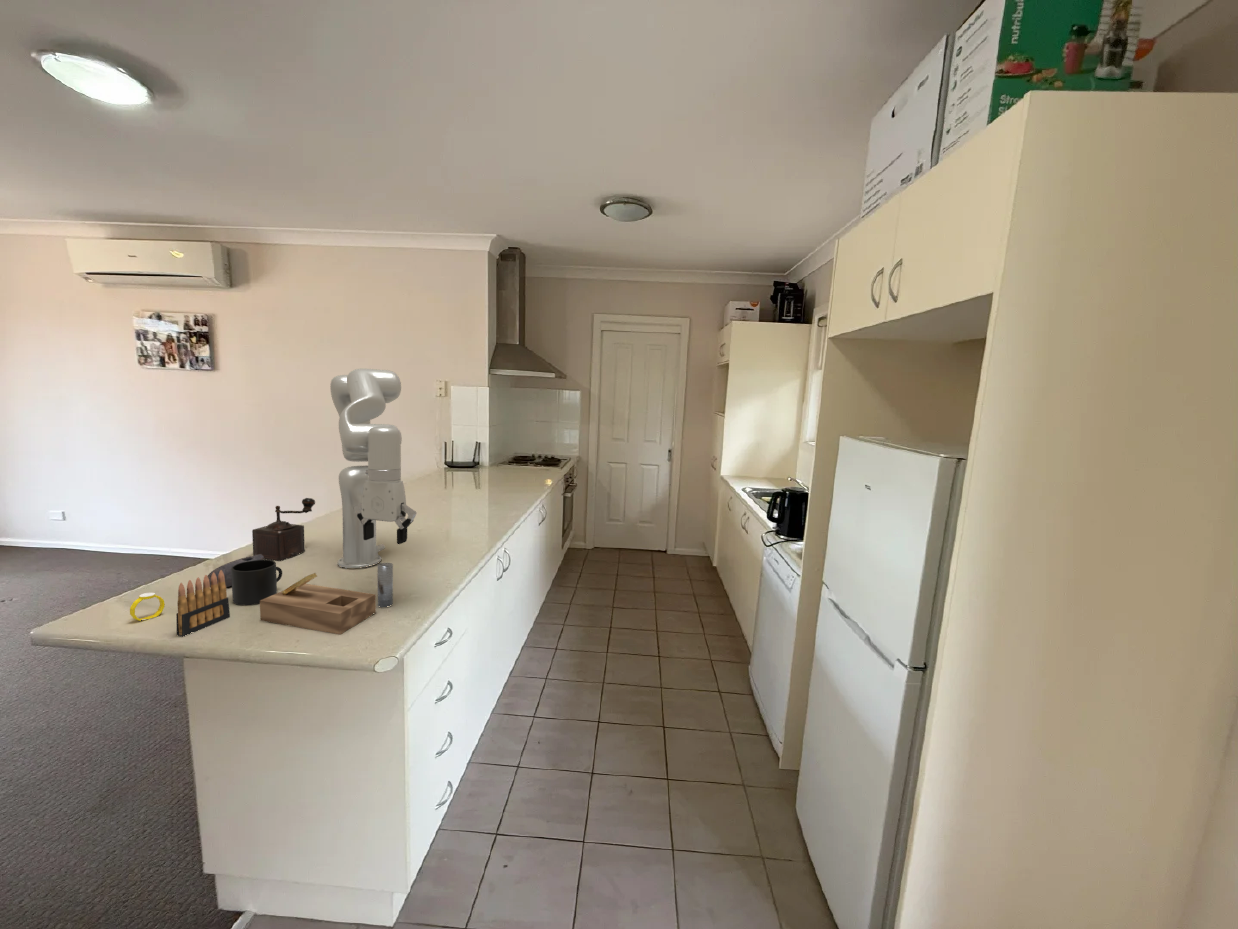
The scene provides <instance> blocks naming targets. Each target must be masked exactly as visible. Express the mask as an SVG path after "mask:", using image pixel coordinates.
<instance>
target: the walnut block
mask: <svg viewBox="0 0 1238 929" xmlns="http://www.w3.org/2000/svg"><path fill="white" fill-rule="evenodd" d="M282 591H283V590H282ZM282 591H280V592H279V591H278V592H277V594H274V595H272V596H269V597H267V598H265V599H262V600H260V603H259V616H260V621H262V622H267V623H273V624H279V625H284V626H290V627H296V628H302V629H307V630H313V631H319V632H325V633H330V634H336V635H342V634H343V633H346V631H349V630H351V629H352V628H354V627H355V626H356V625H359V624H360V623H362V622H364V621H365V620H366V619H368V617H369V616H370V617H372V616H373V615H372V614H373V613H375V614H376V612H377V611H376V610H377V607H376V606H377V605H376V603H377V602H376V601H377V600H376V599H377V596H376V593H369V592H362V591H355V590H350V589H343V588H335V587H330V586H323V585H317V584H309V583H306V584H304V585H303V586H301V587H299V588H298V589H296V590H294V591H292V592H290V593H287V594H285V595H283V594H282ZM371 615H372V616H371ZM370 617H369V618H370ZM364 619H365V620H364ZM363 620H364V621H363Z"/></svg>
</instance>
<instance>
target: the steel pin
mask: <svg viewBox="0 0 1238 929" xmlns="http://www.w3.org/2000/svg"><path fill="white" fill-rule="evenodd" d="M393 567H394V564H393V563H392V562H380V563H379V564H377V607H378V606H380V607H387V606H390V605H392V604H394V591H393V590H394V587H393V586H394V580H393V576H394V575H393V574H394V568H393ZM392 606H393V605H392ZM380 607H379V608H380ZM390 607H391V606H390ZM387 608H388V607H387Z"/></svg>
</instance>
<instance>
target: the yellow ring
mask: <svg viewBox="0 0 1238 929" xmlns="http://www.w3.org/2000/svg"><path fill="white" fill-rule="evenodd" d="M154 598H156V599H157V600H159V606H158V609H157V610H156V611H155V612H154V613H153V614H151V615H147V616H145V617H141V618H140V617H137V615H136V608H137V607H138V604H139V603H141V602H142V601H144V600H150V599H154ZM165 605H166V604H165V600H164V598H162V597H161V596H159V595H157V594H156V593H155V592H145V593H141V594H140V595H138V598H137V599H134V601H133V602H132V604H131V606H129V607H130V608H129V615H130V616H131V618H132V619H133V620H135V621H139V622H142V621H141V620H142V619H148V620H150V618H151V619H154V617H155V618H157V616H158V617H159V616H160V615H161V614H162V613H163V612H164V609H165Z"/></svg>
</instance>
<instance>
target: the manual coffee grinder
mask: <svg viewBox="0 0 1238 929" xmlns="http://www.w3.org/2000/svg"><path fill="white" fill-rule="evenodd" d="M301 504H302V505H303V508H302V510H281V506H280V505H275V513H276V520H275V521H273V522H271V523H269V524H267V526H262V527H258V528H255V529H252V531H251V532H252V536H251V538H252V556H254V555H259V554H262V555H263V556H264V560H266V559H267V560H272V561H274V560H275V562H282V561H285V560H287V559H286V558H288V559H291V558H293V556H294V557H296V556H298V555H300V554H299V553H301V552H303V553H304V552H306V549H305V548H306V545H305V526H304V525H303V524H294V523H290V522H289V521H284V520H281V514H303V513H305V514H307V513H310V512H313V510H312V508H313V506H314V505H316V501H315V499H314V498H310V497H305V498H303V499H302V500H301ZM297 554H298V555H297ZM301 554H302V553H301ZM284 559H285V560H284ZM281 560H282V561H281Z"/></svg>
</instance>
